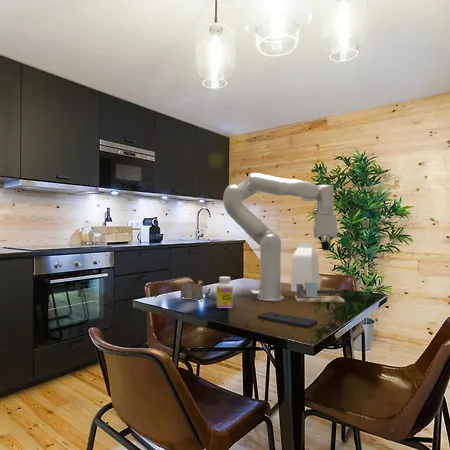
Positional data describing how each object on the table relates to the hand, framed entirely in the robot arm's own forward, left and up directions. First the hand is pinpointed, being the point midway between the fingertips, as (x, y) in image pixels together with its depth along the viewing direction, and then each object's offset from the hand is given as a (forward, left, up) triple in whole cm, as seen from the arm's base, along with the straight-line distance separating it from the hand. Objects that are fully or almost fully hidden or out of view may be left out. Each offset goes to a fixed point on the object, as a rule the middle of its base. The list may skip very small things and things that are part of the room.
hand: (325, 250), depth 157 cm
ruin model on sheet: (-62, -5, -24) cm, 67 cm away
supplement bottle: (-46, -21, -23) cm, 55 cm away
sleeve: (-7, 0, -21) cm, 22 cm away
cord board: (-3, 0, -23) cm, 23 cm away
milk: (-6, +24, -23) cm, 34 cm away
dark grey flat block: (-22, -39, -24) cm, 51 cm away
